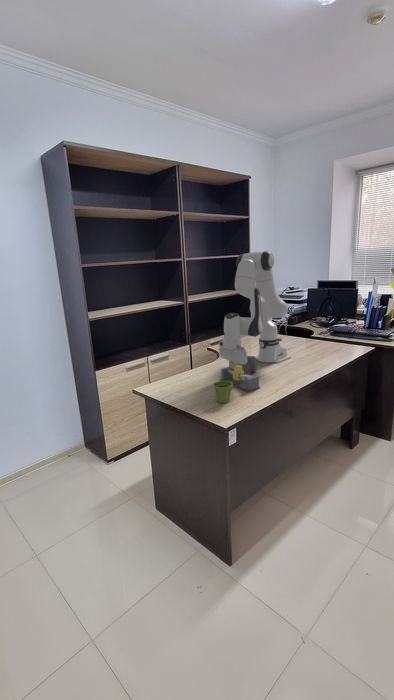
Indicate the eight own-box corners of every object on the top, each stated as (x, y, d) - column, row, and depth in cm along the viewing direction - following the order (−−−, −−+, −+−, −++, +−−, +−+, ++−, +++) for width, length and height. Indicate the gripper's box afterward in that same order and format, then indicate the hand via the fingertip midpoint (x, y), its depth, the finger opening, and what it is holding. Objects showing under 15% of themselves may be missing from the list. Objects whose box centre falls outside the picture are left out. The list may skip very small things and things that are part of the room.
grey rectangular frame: (219, 380, 194) (219, 369, 192) (232, 376, 199) (232, 365, 197) (247, 392, 175) (246, 380, 174) (260, 387, 180) (260, 376, 178)
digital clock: (258, 371, 205) (257, 354, 202) (253, 376, 197) (253, 358, 194) (232, 369, 212) (231, 352, 209) (226, 374, 204) (226, 356, 201)
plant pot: (222, 406, 161) (221, 389, 158) (209, 400, 168) (208, 384, 166) (237, 401, 166) (236, 384, 164) (224, 395, 173) (223, 379, 171)
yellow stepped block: (232, 378, 187) (232, 365, 185) (239, 376, 190) (238, 364, 188) (237, 380, 184) (237, 367, 182) (244, 378, 186) (243, 365, 184)
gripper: (250, 346, 178) (250, 371, 182) (225, 339, 195) (226, 363, 199) (240, 348, 175) (241, 374, 179) (216, 341, 192) (217, 365, 195)
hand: (233, 368), depth 189 cm, fingers closed
